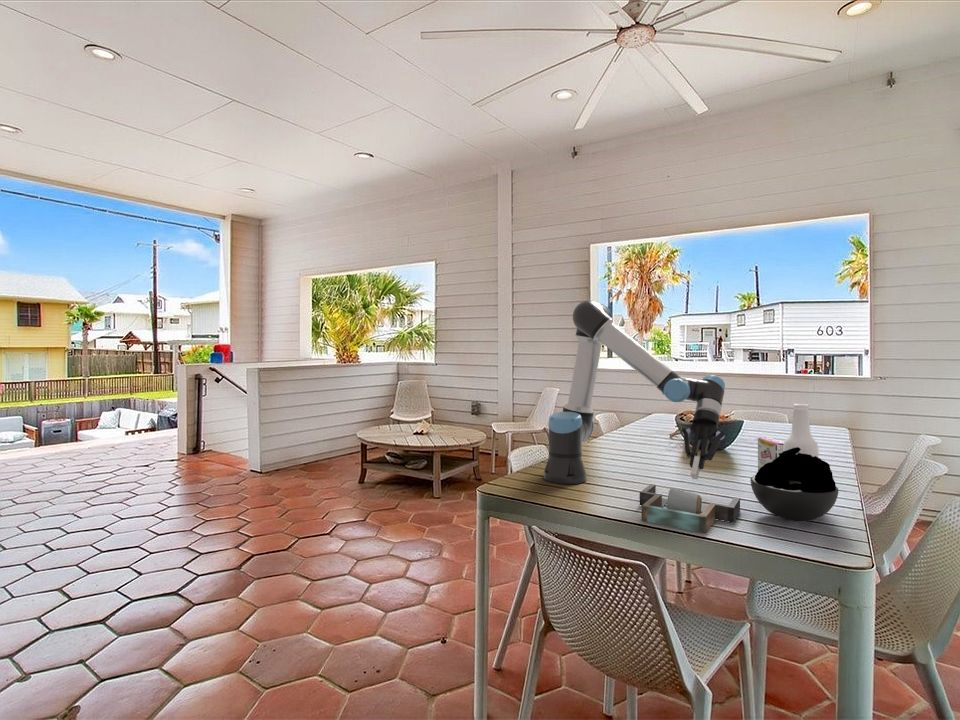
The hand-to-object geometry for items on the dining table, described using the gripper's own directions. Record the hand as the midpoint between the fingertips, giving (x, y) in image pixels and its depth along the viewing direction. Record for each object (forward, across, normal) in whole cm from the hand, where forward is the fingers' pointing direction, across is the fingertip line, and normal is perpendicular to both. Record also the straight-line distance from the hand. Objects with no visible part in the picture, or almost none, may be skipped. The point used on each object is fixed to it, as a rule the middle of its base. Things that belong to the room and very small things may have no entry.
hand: (694, 476), depth 147 cm
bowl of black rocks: (+6, -25, -5) cm, 26 cm away
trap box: (+15, 0, +4) cm, 16 cm away
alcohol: (-6, -26, -17) cm, 32 cm away
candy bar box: (-16, -18, -27) cm, 36 cm away
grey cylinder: (+17, -1, +5) cm, 17 cm away
